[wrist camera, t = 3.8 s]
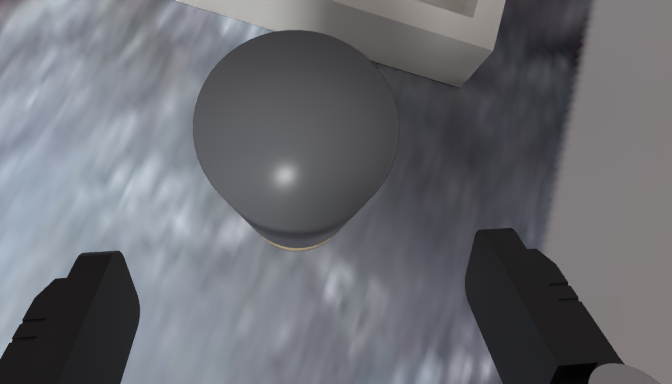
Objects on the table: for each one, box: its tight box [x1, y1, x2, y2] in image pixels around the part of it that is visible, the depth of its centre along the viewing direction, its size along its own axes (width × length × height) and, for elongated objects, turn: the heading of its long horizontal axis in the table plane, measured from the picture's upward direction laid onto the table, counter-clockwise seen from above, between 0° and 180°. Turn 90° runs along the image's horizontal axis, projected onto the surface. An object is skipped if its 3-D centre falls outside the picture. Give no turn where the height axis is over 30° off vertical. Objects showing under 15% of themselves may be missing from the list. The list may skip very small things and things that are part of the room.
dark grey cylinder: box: [193, 30, 400, 252], centre depth 14 cm, size 4×4×10 cm
